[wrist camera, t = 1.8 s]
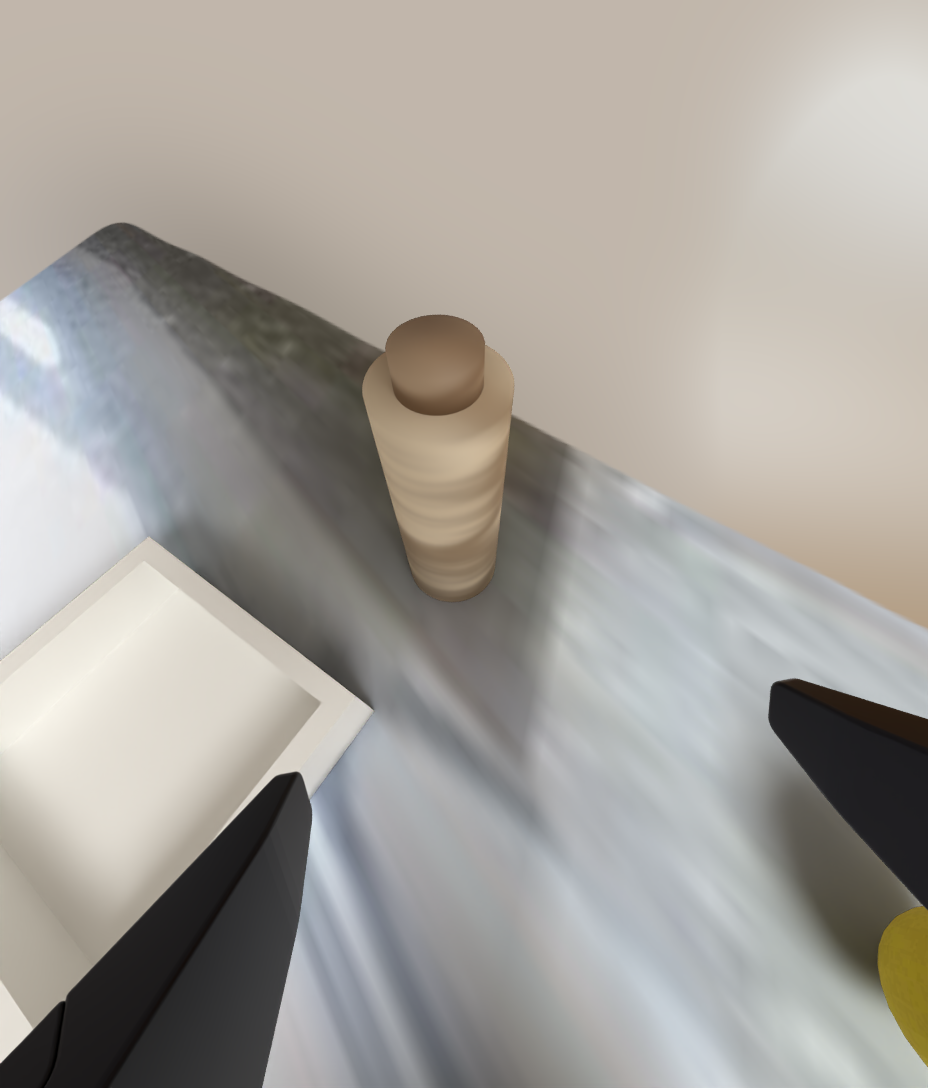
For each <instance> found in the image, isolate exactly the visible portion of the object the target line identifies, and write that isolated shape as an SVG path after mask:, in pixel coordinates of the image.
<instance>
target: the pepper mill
mask: <svg viewBox="0 0 928 1088" xmlns="http://www.w3.org/2000/svg"><path fill="white" fill-rule="evenodd" d="M385 349H386V352H384V353H383V354H382V355H380V356H379V357H378V358H377V359H376V360H375V361H374V362H373V364H372V365H371V366H370V367H369V369H368V371H367V373H366V375H365V378H364V381H363V386H362V394H363V399H364V403H365V407H366V410H367V414H368V417H369V421H370V425H371V428H372V432H373V435H374V439H375V443H376V446H377V450H378V453H379V457H380V461H381V464H382V468H383V471H384V475H385V479H386V482H387V486H388V489H389V493H390V497H391V500H392V504H393V507H394V511H395V515H396V518H397V522H398V525H399V529H400V533H401V536H402V540H403V543H404V547H405V551H406V554H407V558H408V561H409V565H410V569H411V572H412V575H413V578H414V580H415V582H416V584H417V585H418V587H419V588H420V589H421V590H422V591H423V592H424V593H426V594H427V595H429V596H430V597H432V598H435V599H437V600H441V601H446V602H459V601H464V600H467V599H470V598H472V597H474V596H476V595H478V594H479V593H480V592H482V591H483V590H484V589H485V588H486V587H487V585H488V584H489V582H490V581H491V579H492V577H493V574H494V570H495V562H496V553H497V543H498V534H499V525H500V515H501V506H502V497H503V487H504V478H505V469H506V459H507V450H508V441H509V431H510V422H511V413H512V403H513V394H514V378H513V374H512V371H511V369H510V367H509V365H508V364H507V362H506V361H505V360H504V359H503V358H502V357H501V356H500V355H499V354H498V353H497V352H495V350H493V349H491V348H490V347H488V346H486V345H485V341H484V338H483V335H482V333H481V332H480V331H479V330H478V328H476V327H475V326H474V325H473V324H471V323H470V322H468V321H466V320H464V319H460V318H458V317H454V316H448V315H427V316H421V317H418V318H414V319H411V320H409V321H407V322H405V323H403V324H401V325H400V326H398V327H397V328H396V329H395V330H394V331H393V332H392V333H391V334H390V336H389V337H388V339H387V342H386V347H385Z"/></svg>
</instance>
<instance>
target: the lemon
mask: <svg viewBox="0 0 928 1088" xmlns="http://www.w3.org/2000/svg"><path fill="white" fill-rule="evenodd" d="M878 970H879V976H880V982H881V986H882V989H883V992H884V995H885V997H886V1000H887V1003H888V1006H889V1008H890V1010H891V1012H892V1014H893V1016H894V1018H895V1020H896V1021H897V1023H898V1025H899V1027H900V1029H901V1031H902V1032H903V1034H904V1036H905V1038H906V1039H907V1040H908V1042H909V1043H910V1044H911V1046H912V1047H913V1048H914V1050H915V1051H916V1052H917V1054H918V1055H919V1056H920V1058H921V1059H922V1060H923V1062H924V1063H925V1064H926V1066H927V1067H928V910H927V909H926V908H925V907H924V906H921V907H915V908H913V909H910V910H908V911H906V912H904V913H902V914H900V915H898V916H896V917H895V918H894V919H893V920H892V922H891V923H890V924H889V925H888V926H887V928H886V929H885V930H884V932H883V935H882V938H881V940H880V943H879V947H878Z"/></svg>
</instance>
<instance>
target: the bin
mask: <svg viewBox="0 0 928 1088" xmlns="http://www.w3.org/2000/svg"><path fill="white" fill-rule="evenodd" d="M373 713H374V710H373V709H371V708H370V707H369V706H367V705H366V704H365V703H364V702H362V701H361V700H360V699H359V698H357V697H356V696H355V695H353V694H352V693H351V692H350V691H348V690H347V689H346V688H344V687H343V686H342V685H341V684H339V683H338V682H337V681H335V680H334V679H333V678H331V677H330V676H329V675H328V674H326V673H325V672H324V671H322V670H321V669H320V668H319V667H317V666H316V665H315V664H313V663H312V662H311V661H309V660H308V659H307V658H306V657H304V656H303V655H302V654H300V653H299V652H298V651H297V650H295V649H294V648H293V647H291V646H290V645H289V644H287V643H286V642H285V641H284V640H282V639H281V638H280V637H278V636H277V635H276V634H275V633H273V632H272V631H271V630H269V629H268V628H267V627H265V626H264V625H263V624H262V623H260V622H259V621H258V620H256V619H255V618H254V617H253V616H251V615H250V614H249V613H247V612H246V611H245V610H243V609H242V608H241V607H240V606H238V605H237V604H236V603H234V602H233V601H232V600H231V599H229V598H228V597H227V596H225V595H224V594H223V593H221V592H220V591H219V590H218V589H216V588H215V587H214V586H212V585H211V584H210V583H209V582H207V581H206V580H205V579H203V578H202V577H201V576H199V575H198V574H197V573H196V572H194V571H193V570H192V569H190V568H189V567H188V566H187V565H185V564H184V563H183V562H181V561H180V560H179V559H177V558H176V557H175V556H174V555H172V554H171V553H170V552H168V551H167V550H166V549H164V548H163V547H162V546H161V545H159V544H158V543H157V542H155V541H154V540H153V539H152V538H150V537H148V538H146V539H145V540H144V541H143V542H142V543H140V544H139V545H138V546H137V547H136V548H134V549H133V550H132V551H131V552H130V553H128V554H127V555H126V556H125V557H124V558H122V559H121V560H120V561H119V562H118V563H117V564H115V565H114V566H113V567H112V568H111V569H109V570H108V571H107V572H106V573H105V574H103V575H102V576H101V577H100V578H99V579H97V580H96V581H95V582H94V583H93V584H91V585H90V586H89V587H88V588H87V589H86V590H84V591H83V592H82V593H81V594H80V595H78V596H77V597H76V598H75V599H74V600H72V601H71V602H70V603H69V604H68V605H66V606H65V607H64V608H63V609H62V610H60V611H59V612H58V613H57V614H56V615H55V616H53V617H52V618H51V619H50V620H49V621H47V622H46V623H45V624H44V625H43V626H41V627H40V628H39V629H38V630H37V631H35V632H34V633H33V634H32V635H31V636H29V637H28V638H27V639H26V640H25V641H24V642H22V643H21V644H20V645H19V646H18V647H16V648H15V649H14V650H13V651H12V652H10V653H9V654H8V655H7V656H6V657H4V658H3V659H2V660H1V661H0V1063H1V1062H2V1061H3V1060H4V1059H5V1058H6V1057H7V1056H8V1055H9V1054H10V1053H11V1052H12V1051H13V1050H14V1049H15V1048H16V1047H17V1046H18V1045H19V1044H20V1043H21V1042H22V1040H23V1039H24V1038H25V1037H26V1036H27V1035H28V1034H29V1033H30V1032H31V1031H32V1030H33V1029H34V1028H35V1027H36V1026H37V1025H38V1024H39V1023H40V1022H41V1021H42V1020H43V1019H44V1017H45V1016H46V1015H47V1014H48V1013H49V1012H50V1011H51V1010H52V1009H53V1008H54V1007H55V1006H56V1005H57V1004H58V1003H59V1002H60V1001H65V1000H66V996H67V994H68V993H69V991H70V990H71V989H72V988H73V987H74V986H75V985H76V984H77V983H78V982H79V981H80V980H81V979H82V978H83V977H84V976H85V975H86V974H87V973H88V972H89V971H90V969H91V968H92V967H93V966H94V965H95V964H96V963H97V962H98V961H99V960H100V959H101V958H102V957H103V956H104V955H105V954H106V953H107V952H108V951H109V950H110V948H111V947H112V946H113V945H114V944H115V943H116V942H117V941H118V940H119V939H120V938H121V937H122V936H123V935H124V934H125V933H126V932H127V931H128V930H129V929H130V927H131V926H132V925H133V924H134V923H135V922H136V921H137V920H138V919H139V918H140V917H141V916H142V915H143V914H144V913H145V912H146V911H147V910H148V909H149V908H150V906H151V905H152V904H153V903H154V902H155V901H156V900H157V899H158V898H159V897H160V896H161V895H162V894H163V893H164V892H165V891H166V890H167V889H168V888H169V887H170V885H171V884H172V883H173V882H174V881H175V880H176V879H177V878H178V877H179V876H180V875H181V874H182V873H183V872H184V871H185V870H186V869H187V868H188V867H189V866H190V864H191V863H192V862H193V861H194V860H195V859H196V858H197V857H198V856H199V855H200V854H201V853H202V852H203V851H204V850H205V849H206V848H207V847H208V846H209V845H210V844H211V842H212V841H213V840H214V839H215V838H216V837H217V836H218V835H219V834H220V833H221V832H222V831H223V830H224V829H225V828H226V827H227V826H228V825H229V824H230V823H231V821H232V820H233V819H234V818H235V817H236V816H237V815H238V814H239V813H240V812H241V811H242V810H243V809H244V808H245V807H246V806H247V805H248V804H249V803H250V802H251V800H252V799H253V798H254V797H255V796H256V795H257V794H258V793H259V792H260V791H261V790H262V789H263V788H264V787H265V786H266V785H267V784H268V783H269V782H270V781H271V779H273V778H274V777H275V776H276V775H279V774H284V773H289V772H295V771H297V772H300V773H301V775H302V777H303V780H304V783H305V786H306V790H307V793H308V797H309V800H310V799H311V797H312V796H313V795H314V793H315V792H316V790H317V789H318V788H319V786H320V785H321V784H322V782H323V781H324V780H325V778H326V777H327V775H328V774H329V773H330V771H331V770H332V769H333V767H334V766H335V764H336V763H337V762H338V760H339V759H340V758H341V756H342V755H343V754H344V752H345V751H346V749H347V748H348V747H349V745H350V744H351V743H352V741H353V740H354V739H355V737H356V736H357V734H358V733H359V732H360V730H361V729H362V728H363V726H364V725H365V723H366V722H367V721H368V719H369V718H370V717H371V715H372V714H373Z"/></svg>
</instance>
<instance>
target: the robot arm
mask: <svg viewBox="0 0 928 1088" xmlns="http://www.w3.org/2000/svg"><path fill="white" fill-rule="evenodd" d="M768 718H769V723H770V725H771V727H772V729H773V731H774V732H775V734H776V735H777V736H778V738H779V739H780V740H781V741H782V743H783V744H784V745H785V746H786V748H787V749H788V750H789V752H790V753H791V754H792V755H793V757H794V758H795V759H796V761H797V762H798V763H799V764H800V766H801V767H802V768H803V769H804V771H805V772H806V773H807V775H808V776H809V777H810V778H811V780H812V781H813V782H814V783H815V785H816V786H817V787H818V789H819V790H820V791H821V792H822V794H823V795H824V796H825V797H826V799H827V800H828V801H829V802H830V803H831V805H832V806H833V807H834V808H835V809H836V811H837V812H838V813H839V814H840V815H841V816H842V817H843V819H844V820H845V821H846V822H847V823H848V824H849V825H850V826H851V827H852V829H853V830H854V831H855V832H856V833H857V834H858V835H859V836H860V837H861V838H862V839H863V841H864V842H865V843H866V844H867V845H868V846H869V847H870V848H871V849H872V850H873V851H874V853H875V854H876V855H877V856H878V857H879V858H880V859H881V860H882V861H883V862H884V863H885V865H886V866H887V867H888V868H889V869H890V870H891V871H892V872H893V873H894V874H895V875H896V877H897V878H898V879H899V880H900V881H901V882H902V883H903V884H904V885H905V886H906V887H907V889H908V890H909V891H910V892H911V893H912V894H913V895H914V896H915V897H916V898H917V899H918V901H919V902H920V903H921V904H922V905H923V906H924V907H925V908H926V909H927V910H928V719H926V718H922V717H919V716H916V715H913V714H910V713H906V712H903V711H900V710H897V709H894V708H890V707H887V706H884V705H881V704H877V703H874V702H871V701H868V700H865V699H861V698H858V697H855V696H852V695H848V694H845V693H842V692H839V691H836V690H832V689H829V688H826V687H823V686H820V685H816V684H813V683H810V682H807V681H803V680H800V679H787V680H781V681H777V682H775V683H773V685H772V686H771V691H770V702H769V714H768ZM311 824H312V808H311V804H310V800H309V797H308V793H307V790H306V786H305V783H304V780H303V777H302V775H301V773H300V772H297V771H295V772H289V773H284V774H279V775H276V776H275V777H274V778H273V779H271V781H270V782H269V783H268V784H267V785H266V786H265V787H264V788H263V789H262V790H261V791H260V792H259V793H258V794H257V795H256V796H255V797H254V798H253V799H252V800H251V802H250V803H249V804H248V805H247V806H246V807H245V808H244V809H243V810H242V811H241V812H240V813H239V814H238V815H237V816H236V817H235V818H234V819H233V820H232V821H231V823H230V824H229V825H228V826H227V827H226V828H225V829H224V830H223V831H222V832H221V833H220V834H219V835H218V836H217V837H216V838H215V839H214V840H213V841H212V842H211V844H210V845H209V846H208V847H207V848H206V849H205V850H204V851H203V852H202V853H201V854H200V855H199V856H198V857H197V858H196V859H195V860H194V861H193V862H192V863H191V864H190V866H189V867H188V868H187V869H186V870H185V871H184V872H183V873H182V874H181V875H180V876H179V877H178V878H177V879H176V880H175V881H174V882H173V883H172V884H171V885H170V887H169V888H168V889H167V890H166V891H165V892H164V893H163V894H162V895H161V896H160V897H159V898H158V899H157V900H156V901H155V902H154V903H153V904H152V905H151V906H150V908H149V909H148V910H147V911H146V912H145V913H144V914H143V915H142V916H141V917H140V918H139V919H138V920H137V921H136V922H135V923H134V924H133V925H132V926H131V927H130V929H129V930H128V931H127V932H126V933H125V934H124V935H123V936H122V937H121V938H120V939H119V940H118V941H117V942H116V943H115V944H114V945H113V946H112V947H111V948H110V950H109V951H108V952H107V953H106V954H105V955H104V956H103V957H102V958H101V959H100V960H99V961H98V962H97V963H96V964H95V965H94V966H93V967H92V968H91V969H90V971H89V972H88V973H87V974H86V975H85V976H84V977H83V978H82V979H81V980H80V981H79V982H78V983H77V984H76V985H75V986H74V987H73V988H72V989H71V990H70V991H69V993H68V994H67V996H66V1000H65V1001H60V1002H59V1003H58V1004H57V1005H56V1006H55V1007H54V1008H53V1009H52V1010H51V1011H50V1012H49V1013H48V1014H47V1015H46V1016H45V1017H44V1019H43V1020H42V1021H41V1022H40V1023H39V1024H38V1025H37V1026H36V1027H35V1028H34V1029H33V1030H32V1031H31V1032H30V1033H29V1034H28V1035H27V1036H26V1037H25V1038H24V1039H23V1040H22V1042H21V1043H20V1044H19V1045H18V1046H17V1047H16V1048H15V1049H14V1050H13V1051H12V1052H11V1053H10V1054H9V1055H8V1056H7V1057H6V1058H5V1059H4V1060H3V1061H2V1062H1V1063H0V1088H262V1085H263V1081H264V1076H265V1072H266V1067H267V1063H268V1058H269V1054H270V1049H271V1045H272V1040H273V1036H274V1031H275V1027H276V1023H277V1018H278V1014H279V1009H280V1005H281V1000H282V996H283V991H284V987H285V982H286V978H287V973H288V969H289V964H290V960H291V955H292V951H293V947H294V942H295V937H296V932H297V927H298V922H299V916H300V910H301V903H302V895H303V887H304V879H305V871H306V864H307V856H308V848H309V840H310V832H311Z"/></svg>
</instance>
